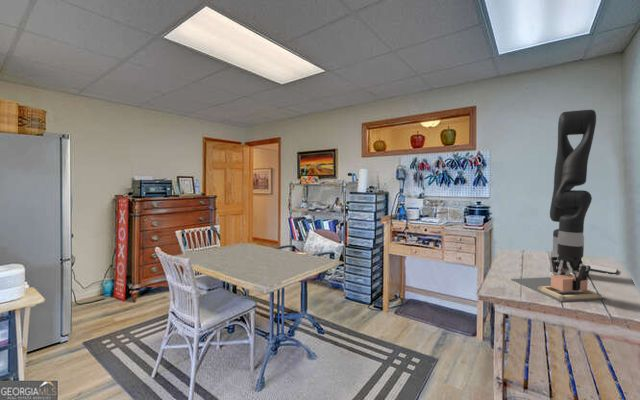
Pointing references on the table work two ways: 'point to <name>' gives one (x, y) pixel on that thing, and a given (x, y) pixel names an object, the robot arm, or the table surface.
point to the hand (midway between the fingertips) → (568, 287)
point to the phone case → (602, 269)
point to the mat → (545, 288)
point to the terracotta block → (566, 283)
